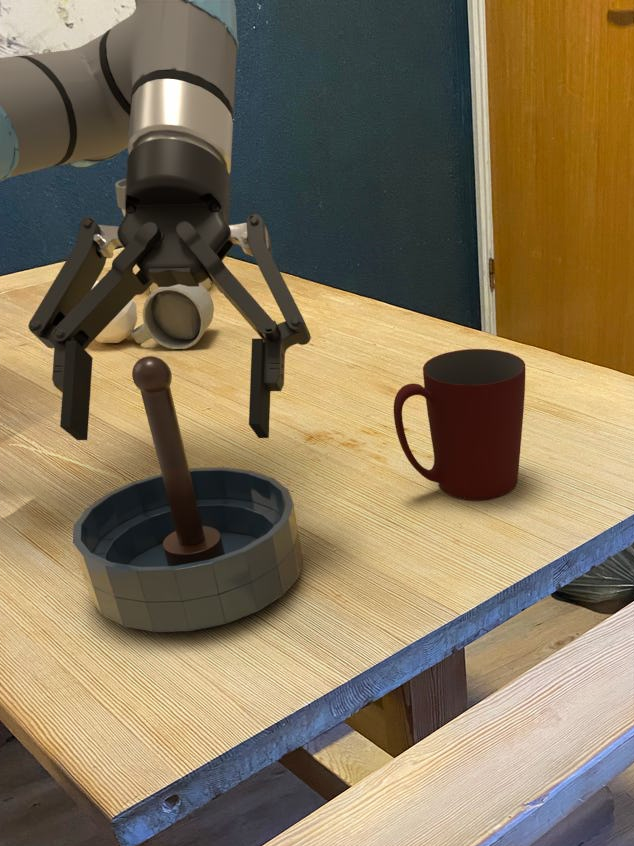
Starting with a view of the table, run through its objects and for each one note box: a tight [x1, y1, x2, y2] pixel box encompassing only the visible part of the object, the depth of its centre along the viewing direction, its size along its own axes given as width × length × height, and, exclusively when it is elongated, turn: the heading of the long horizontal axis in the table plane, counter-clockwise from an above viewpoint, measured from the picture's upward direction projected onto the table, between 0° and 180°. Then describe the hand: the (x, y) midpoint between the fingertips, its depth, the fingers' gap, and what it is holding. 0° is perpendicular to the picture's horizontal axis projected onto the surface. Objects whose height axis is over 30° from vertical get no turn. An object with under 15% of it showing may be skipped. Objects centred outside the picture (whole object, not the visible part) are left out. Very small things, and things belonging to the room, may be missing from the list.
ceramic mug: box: [130, 283, 215, 350], centre depth 121 cm, size 11×8×8 cm
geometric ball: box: [91, 280, 138, 344], centre depth 121 cm, size 8×8×8 cm
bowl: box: [72, 466, 304, 633], centre depth 73 cm, size 16×16×6 cm
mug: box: [393, 348, 526, 501], centre depth 83 cm, size 12×9×11 cm
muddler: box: [131, 355, 225, 566], centre depth 69 cm, size 4×4×17 cm
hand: (166, 433), depth 68 cm, fingers open, 13 cm apart
